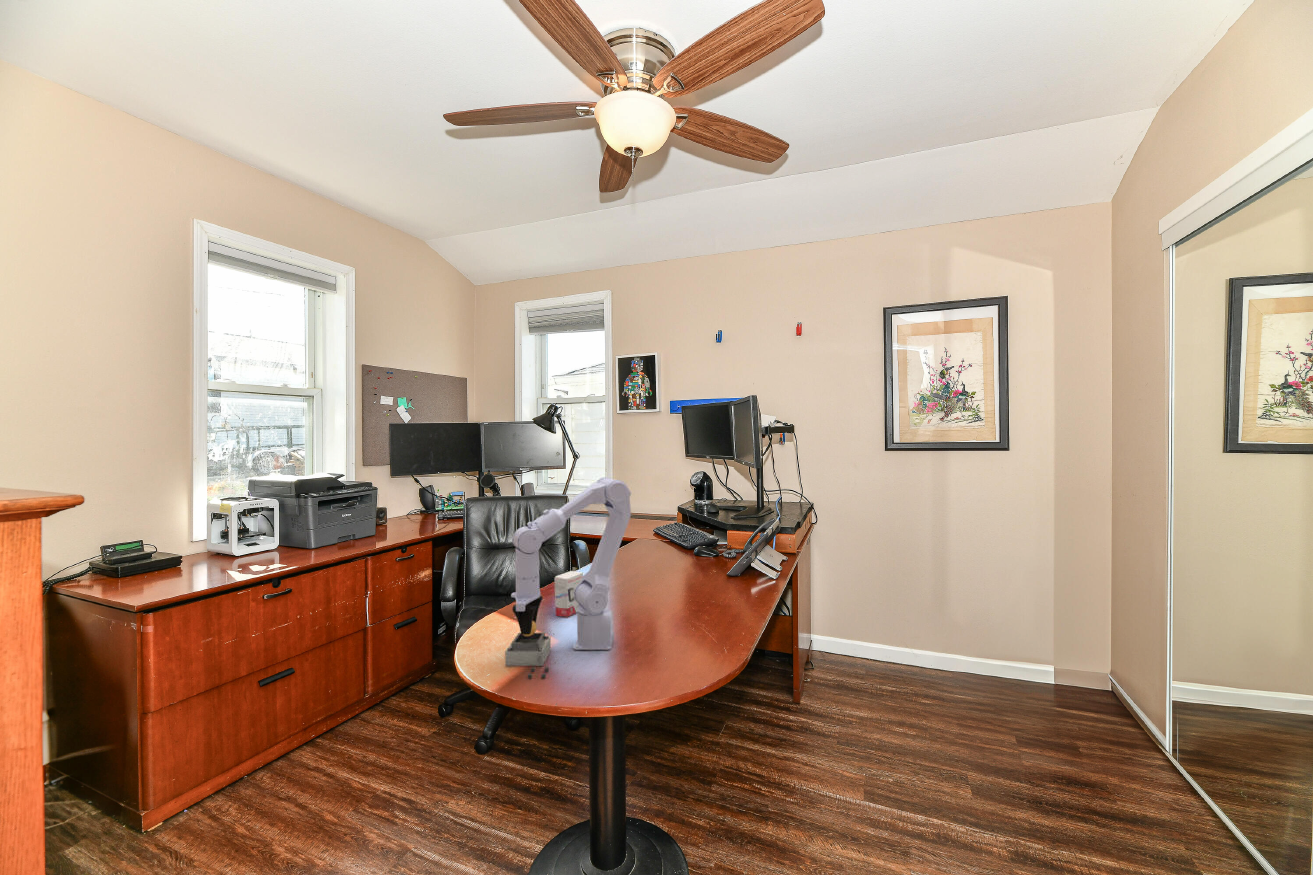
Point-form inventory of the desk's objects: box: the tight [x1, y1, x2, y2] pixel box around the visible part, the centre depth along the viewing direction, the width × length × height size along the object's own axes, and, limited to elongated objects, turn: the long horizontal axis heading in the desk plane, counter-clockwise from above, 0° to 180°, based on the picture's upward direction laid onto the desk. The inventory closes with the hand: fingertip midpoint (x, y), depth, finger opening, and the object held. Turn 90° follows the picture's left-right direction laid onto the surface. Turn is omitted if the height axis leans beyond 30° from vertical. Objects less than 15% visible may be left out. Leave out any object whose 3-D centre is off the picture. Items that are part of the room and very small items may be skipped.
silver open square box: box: [504, 632, 552, 667], centre depth 132 cm, size 9×9×5 cm
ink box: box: [554, 570, 584, 618], centre depth 164 cm, size 9×5×12 cm, turn 150°
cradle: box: [526, 666, 550, 680], centre depth 123 cm, size 4×4×1 cm
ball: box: [519, 621, 537, 637], centre depth 132 cm, size 4×4×4 cm
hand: (528, 630), depth 132 cm, fingers closed on ball, 4 cm apart
